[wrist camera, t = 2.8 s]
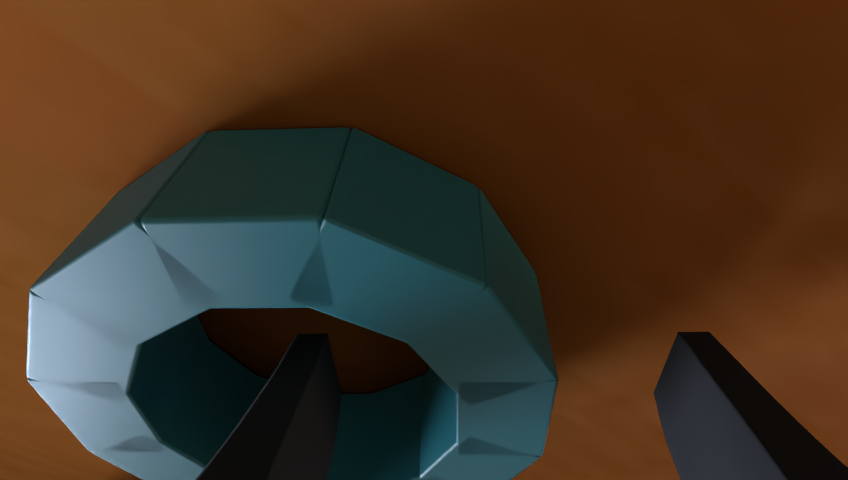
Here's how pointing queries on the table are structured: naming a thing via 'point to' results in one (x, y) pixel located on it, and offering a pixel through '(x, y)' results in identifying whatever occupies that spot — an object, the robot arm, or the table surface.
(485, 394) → the ring
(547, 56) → the table surface
